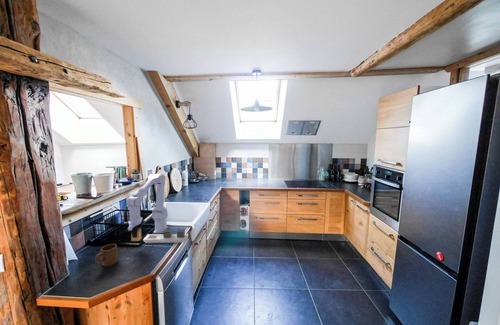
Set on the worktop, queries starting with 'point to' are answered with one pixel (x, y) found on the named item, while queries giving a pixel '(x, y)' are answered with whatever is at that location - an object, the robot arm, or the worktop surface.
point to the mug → (108, 255)
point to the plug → (137, 235)
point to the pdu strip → (164, 240)
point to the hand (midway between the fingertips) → (136, 235)
